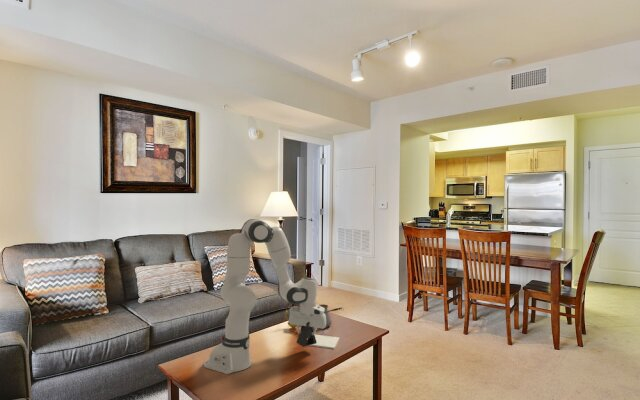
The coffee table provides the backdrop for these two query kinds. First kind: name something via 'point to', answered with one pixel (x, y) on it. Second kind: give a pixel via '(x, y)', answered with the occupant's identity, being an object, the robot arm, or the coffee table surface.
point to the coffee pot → (328, 319)
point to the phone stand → (306, 336)
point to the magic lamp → (291, 324)
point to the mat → (326, 341)
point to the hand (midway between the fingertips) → (306, 334)
